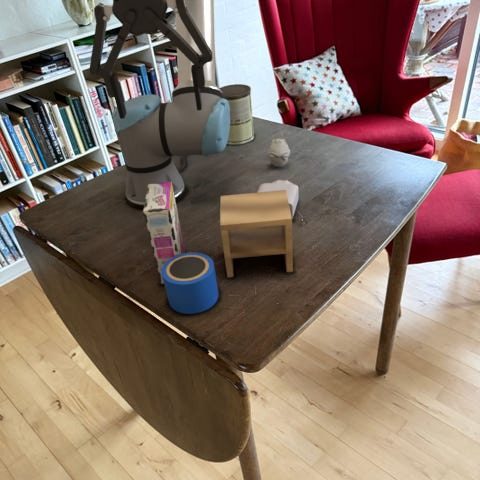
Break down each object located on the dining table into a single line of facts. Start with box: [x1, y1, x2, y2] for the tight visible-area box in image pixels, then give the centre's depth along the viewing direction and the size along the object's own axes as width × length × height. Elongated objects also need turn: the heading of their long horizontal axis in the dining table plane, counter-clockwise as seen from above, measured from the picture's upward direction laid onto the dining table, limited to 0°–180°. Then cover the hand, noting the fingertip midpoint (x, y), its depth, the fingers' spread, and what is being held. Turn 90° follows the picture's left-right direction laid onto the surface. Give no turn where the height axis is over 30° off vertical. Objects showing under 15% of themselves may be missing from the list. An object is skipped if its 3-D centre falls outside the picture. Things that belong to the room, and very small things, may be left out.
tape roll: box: [161, 252, 220, 315], centre depth 85 cm, size 10×10×7 cm
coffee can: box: [218, 83, 255, 146], centre depth 137 cm, size 10×10×14 cm
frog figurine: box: [267, 138, 291, 168], centre depth 123 cm, size 6×7×7 cm
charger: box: [256, 179, 299, 220], centre depth 109 cm, size 5×9×15 cm
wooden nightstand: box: [219, 190, 294, 278], centre depth 91 cm, size 11×13×12 cm
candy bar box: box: [142, 182, 186, 285], centre depth 90 cm, size 11×5×16 cm, turn 4°
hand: (161, 112), depth 81 cm, fingers open, 13 cm apart
